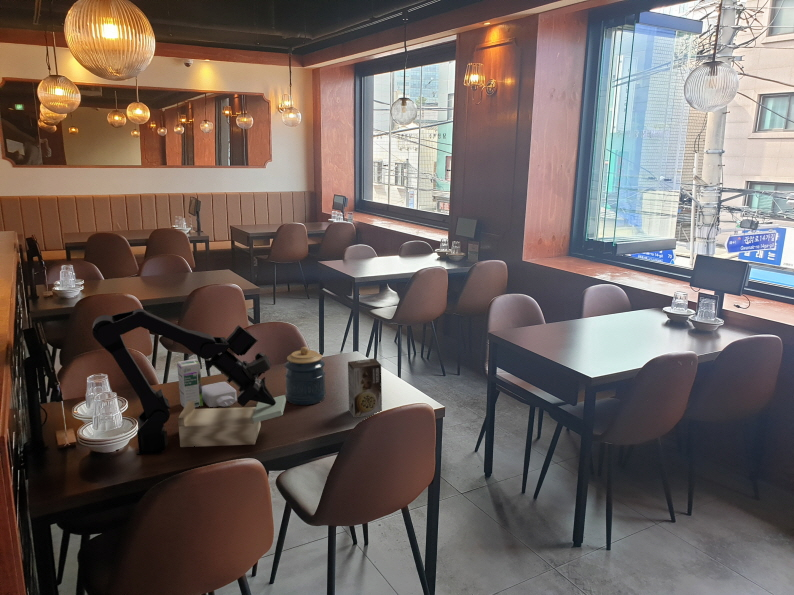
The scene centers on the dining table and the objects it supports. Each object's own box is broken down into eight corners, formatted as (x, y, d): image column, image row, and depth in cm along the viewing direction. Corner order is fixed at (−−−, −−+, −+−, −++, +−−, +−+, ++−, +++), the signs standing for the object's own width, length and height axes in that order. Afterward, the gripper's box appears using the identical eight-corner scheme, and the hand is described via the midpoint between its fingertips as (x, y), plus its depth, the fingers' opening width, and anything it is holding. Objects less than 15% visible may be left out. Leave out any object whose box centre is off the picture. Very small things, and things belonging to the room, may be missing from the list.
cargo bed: (180, 447, 167) (178, 417, 165) (190, 428, 178) (188, 401, 176) (254, 444, 168) (253, 415, 166) (260, 426, 180) (259, 398, 178)
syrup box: (185, 410, 191) (181, 366, 188) (180, 404, 196) (176, 360, 193) (203, 406, 195) (200, 362, 191) (198, 400, 199) (195, 357, 196)
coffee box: (375, 406, 195) (375, 357, 191) (382, 413, 189) (382, 364, 186) (348, 410, 192) (347, 361, 188) (354, 418, 186) (353, 367, 182)
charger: (215, 415, 188) (200, 400, 200) (244, 408, 194) (227, 394, 205) (214, 400, 187) (199, 386, 199) (243, 394, 193) (226, 380, 204)
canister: (321, 389, 209) (320, 339, 206) (329, 403, 197) (328, 350, 194) (283, 393, 205) (281, 343, 202) (289, 408, 193) (287, 354, 190)
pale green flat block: (252, 418, 167) (280, 410, 167) (258, 401, 178) (284, 394, 178) (253, 422, 167) (282, 415, 167) (259, 406, 178) (286, 399, 179)
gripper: (247, 358, 159) (291, 396, 163) (256, 338, 178) (296, 373, 181) (218, 387, 161) (263, 425, 164) (230, 364, 179) (271, 399, 182)
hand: (274, 404), depth 173 cm, fingers closed, pressing on pale green flat block
